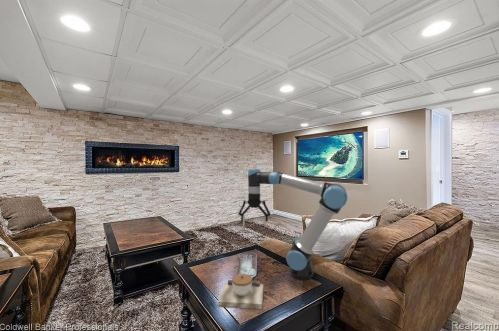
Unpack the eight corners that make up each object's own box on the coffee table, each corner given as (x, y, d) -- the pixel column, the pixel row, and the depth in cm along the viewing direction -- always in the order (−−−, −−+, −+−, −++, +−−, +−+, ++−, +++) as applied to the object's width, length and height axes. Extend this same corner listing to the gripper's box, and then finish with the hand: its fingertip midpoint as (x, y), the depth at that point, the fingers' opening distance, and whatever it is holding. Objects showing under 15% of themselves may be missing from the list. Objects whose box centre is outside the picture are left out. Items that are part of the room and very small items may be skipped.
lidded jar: (250, 300, 113) (249, 281, 113) (229, 297, 116) (229, 279, 115) (253, 288, 124) (253, 271, 124) (235, 286, 126) (235, 269, 126)
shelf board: (263, 288, 128) (263, 280, 128) (261, 309, 110) (261, 299, 110) (225, 286, 130) (225, 279, 130) (218, 306, 112) (218, 297, 112)
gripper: (273, 192, 145) (274, 225, 145) (235, 192, 147) (235, 224, 147) (274, 193, 137) (274, 228, 137) (233, 193, 140) (234, 227, 140)
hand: (254, 226), depth 142 cm, fingers open, 13 cm apart
